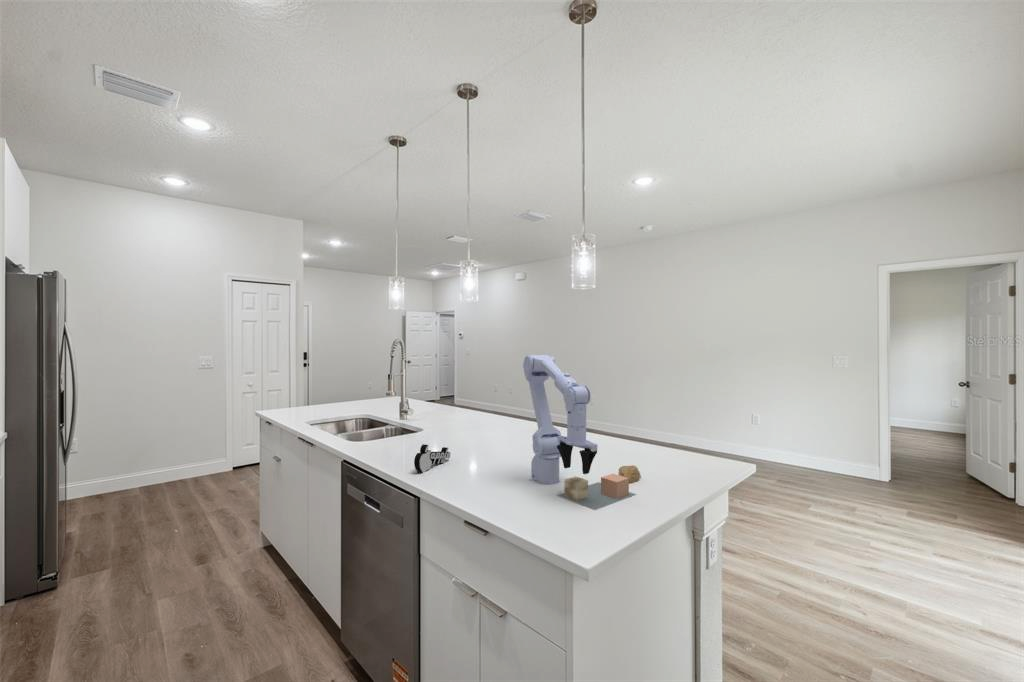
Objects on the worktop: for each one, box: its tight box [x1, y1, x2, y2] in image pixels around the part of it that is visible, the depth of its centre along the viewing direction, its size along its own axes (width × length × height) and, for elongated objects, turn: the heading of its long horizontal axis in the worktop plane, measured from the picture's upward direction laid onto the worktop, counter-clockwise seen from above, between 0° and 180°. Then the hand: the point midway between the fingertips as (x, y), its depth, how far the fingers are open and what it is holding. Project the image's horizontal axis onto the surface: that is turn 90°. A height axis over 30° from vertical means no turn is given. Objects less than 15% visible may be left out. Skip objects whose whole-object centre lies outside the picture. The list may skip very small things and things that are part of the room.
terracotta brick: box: [600, 473, 630, 499], centre depth 134 cm, size 6×6×5 cm
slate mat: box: [556, 481, 637, 511], centre depth 133 cm, size 15×20×1 cm
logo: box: [413, 443, 451, 473], centre depth 165 cm, size 21×2×10 cm, turn 157°
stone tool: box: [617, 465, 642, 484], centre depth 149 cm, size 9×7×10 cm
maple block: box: [563, 475, 589, 501], centre depth 132 cm, size 5×5×5 cm
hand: (576, 470), depth 132 cm, fingers open, 7 cm apart
